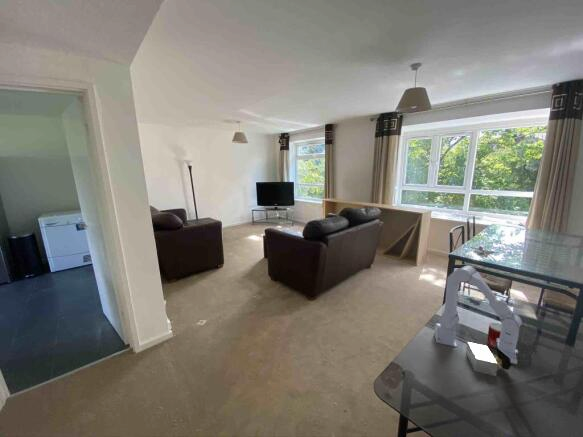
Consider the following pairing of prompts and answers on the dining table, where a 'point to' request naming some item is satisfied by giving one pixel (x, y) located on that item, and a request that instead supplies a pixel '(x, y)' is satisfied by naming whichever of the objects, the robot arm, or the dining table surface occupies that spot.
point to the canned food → (494, 334)
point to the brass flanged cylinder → (498, 361)
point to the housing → (481, 359)
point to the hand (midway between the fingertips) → (503, 365)
